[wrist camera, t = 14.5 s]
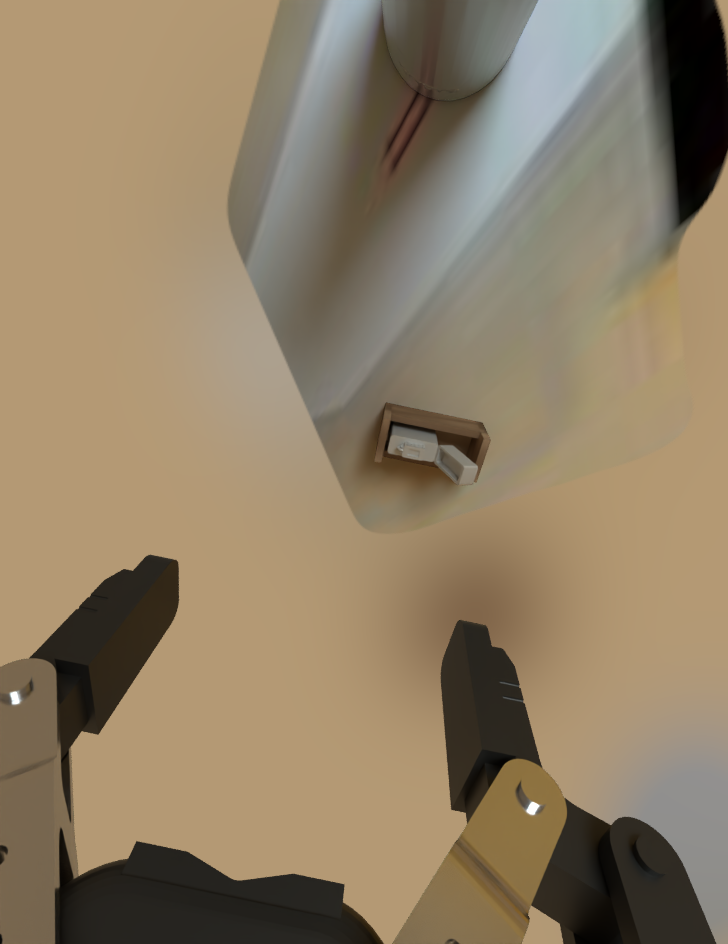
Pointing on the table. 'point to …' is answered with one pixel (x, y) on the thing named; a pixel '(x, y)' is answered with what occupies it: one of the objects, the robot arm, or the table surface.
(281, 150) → the table surface
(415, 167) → the table surface
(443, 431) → the open wooden box
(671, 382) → the table surface
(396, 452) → the lighter
